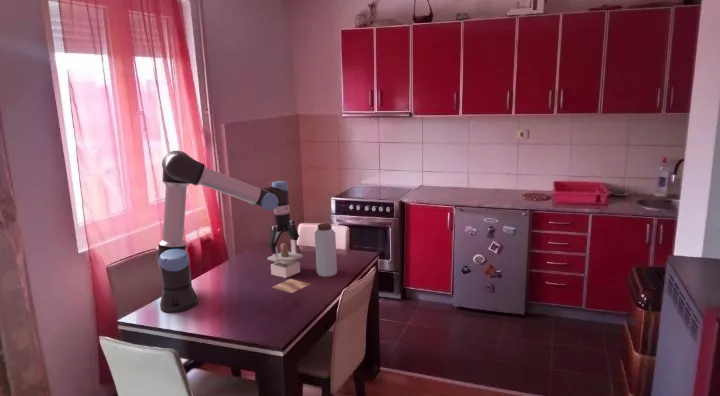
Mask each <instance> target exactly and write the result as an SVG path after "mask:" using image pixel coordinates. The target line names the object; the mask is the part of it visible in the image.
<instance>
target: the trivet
mask: <svg viewBox="0 0 720 396" xmlns="http://www.w3.org/2000/svg"><path fill="white" fill-rule="evenodd" d="M310 285H311V283H310V282H305V281H300V280H296V279H293V278H289V279H286V280H285V281H282V282H280V283H278V284H276V285H273V286H271V287H270V288H271V289H275V290H279V291H282V292H285V293H288V294H293V293H295V292H297V291H300V290H302V289H304V288H305V287H308V286H310Z"/></svg>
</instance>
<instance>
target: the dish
mask: <svg viewBox="0 0 720 396" xmlns="http://www.w3.org/2000/svg"><path fill="white" fill-rule="evenodd" d="M299 273H301V263H300V261H297V260H294V261H291V262H289V263H287V264H283V263H279V262H274V263H272V264H270V275H272V276H275V277H280V278H284V279H287V278H290V277H292V276H294V275H297V274H299Z"/></svg>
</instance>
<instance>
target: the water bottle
mask: <svg viewBox="0 0 720 396" xmlns="http://www.w3.org/2000/svg"><path fill="white" fill-rule="evenodd" d="M336 238H337V237H336V232H335V230H334V229H333V228H332V224H331V223H327V222H324V223H319V224H317V229H316V230H315V232H314V244H315V245H314V246H315V261H316V262H315V266H316V274H317V275H318V276H319V277H324V278H328V277H333V276H336V275H337V273H338V267H337V266H338V263H337V262H338V261H337V242H336V241H337V239H336Z"/></svg>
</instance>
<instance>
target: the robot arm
mask: <svg viewBox="0 0 720 396" xmlns="http://www.w3.org/2000/svg"><path fill="white" fill-rule="evenodd" d="M161 167H162V180H161V181H162V183H163V184H164V185H165V193H164V194H165V195H164V211H163V227H162V228H163V230H162V239H161V240H159V241H158V245H157V246H158V249H157V253H156V258H155V260H156V264H157V266H158V268H159V271H160V276H161V277H160V278H161V285H162V292H161V298H160V302H159V306H160V310H161V311H162V312H164V313H181V312H184V311H188V310H191V309H193V308H195V307H196V306H197V305H198V304H199V303H198V302H199V300H198V299H199V298H198V296H197V293H196V291H195V289H194V288H193V283H192V274H191V264H190V261H191V260H190V255H189V252H188V251H187V242H186V241H185V240H184V233H185V231H184V230H185V218H186V217H185V216H186V202H187V201H186V200H187V190H188V188H187V187H188V186H189V185H190V184H191V185H193V186H200V185H201V186H203V187H206V188H208V189H210V190H211V189H212V190H214V191H217V192H219V193H221V194H225V195H227V196H230V197H233V198H235V199H238V200H241V201H244V202H246V203H248V204H249V205H250V206H257V207H259V208H263V210H267V211H273V214H274V215H273V217H274V218H273V219H274V223H275V225H271V226H270V233H269V237H268V243H267V246H268V247H269V248H271V254H272V256H273V260H278V253H279V252H278V245H277V244H278V242H279V240H280V238H281V235H282V234H283V233H287V235H289V237H290V238H291V239H290V247H291V248H290V249H291V251H290V252H292V253H297V240H299V238H300V233H299V232H298V228H297V227H296V224H295V220H292V219H291V213H290V211H291V210H290V197H289V196H290V195H289V185H288V182H287V181H286V180H276V181H272V182H271V185H270V186H266V187H256V186H254V185H252V184H249V183H247V182H244V181H242V180H239V179H238V178H237V179H236V178H234V177H231V176H229V175H226V174H224V173H221V172H219V171H216V170H213V169H211V168H208V167H207V166H206V164H205V163H202V162H200V161H198V160H196V159H194V158H193V157H191V156H190V155H189V154H187V153H186V152H184V151H182V150H171V151H169V152H167V154H165V155H164V157H163V159H162V162H161Z"/></svg>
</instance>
